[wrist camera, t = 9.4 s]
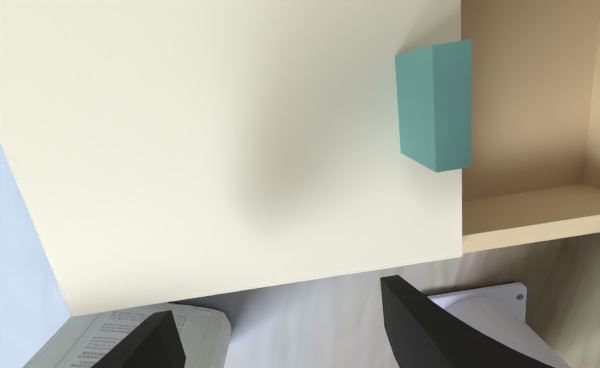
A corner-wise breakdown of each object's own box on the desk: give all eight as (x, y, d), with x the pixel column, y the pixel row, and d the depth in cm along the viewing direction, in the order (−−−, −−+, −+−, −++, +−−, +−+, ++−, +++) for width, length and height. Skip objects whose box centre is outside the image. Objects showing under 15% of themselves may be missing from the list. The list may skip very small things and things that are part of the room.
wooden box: (585, 191, 22) (670, 221, 17) (287, 237, 22) (288, 280, 17) (616, -95, 17) (744, -166, 12) (239, -38, 17) (222, -86, 12)
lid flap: (456, 250, 17) (509, 301, 13) (79, 308, 16) (15, 377, 13) (451, -113, 12) (530, -208, 8) (-59, -35, 12) (-223, -93, 8)
